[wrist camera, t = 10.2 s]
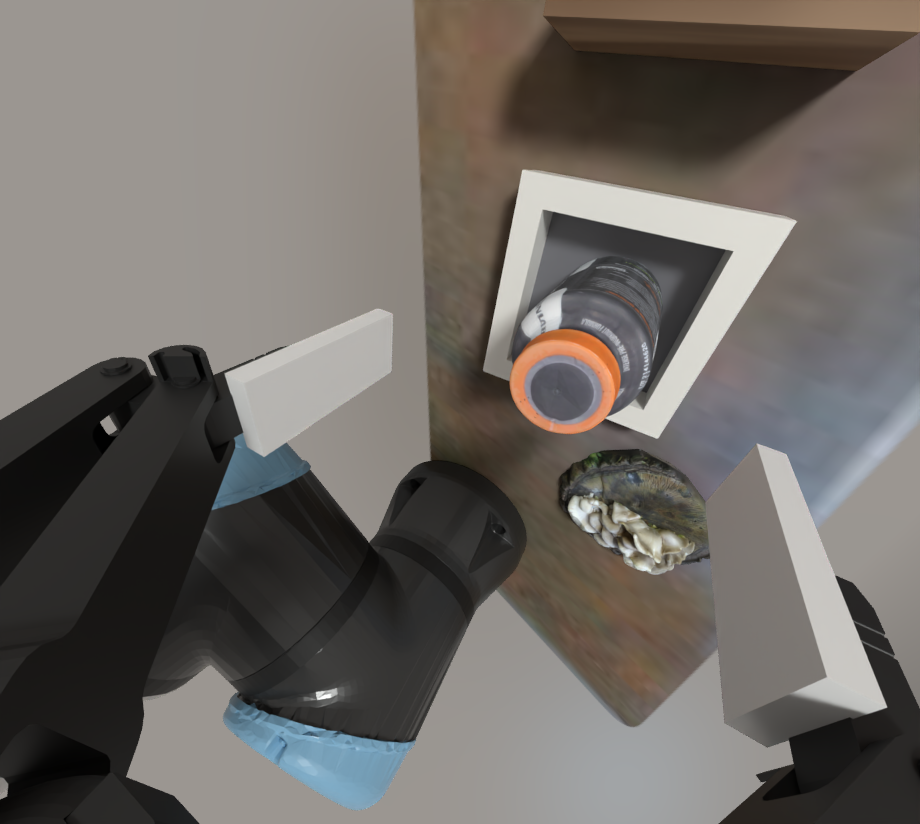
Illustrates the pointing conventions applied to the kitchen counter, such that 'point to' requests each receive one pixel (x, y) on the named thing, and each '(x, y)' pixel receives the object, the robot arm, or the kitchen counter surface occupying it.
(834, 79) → the kitchen counter surface
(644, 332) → the pill bottle
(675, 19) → the door edge
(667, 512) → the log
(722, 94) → the kitchen counter surface
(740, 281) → the plate
